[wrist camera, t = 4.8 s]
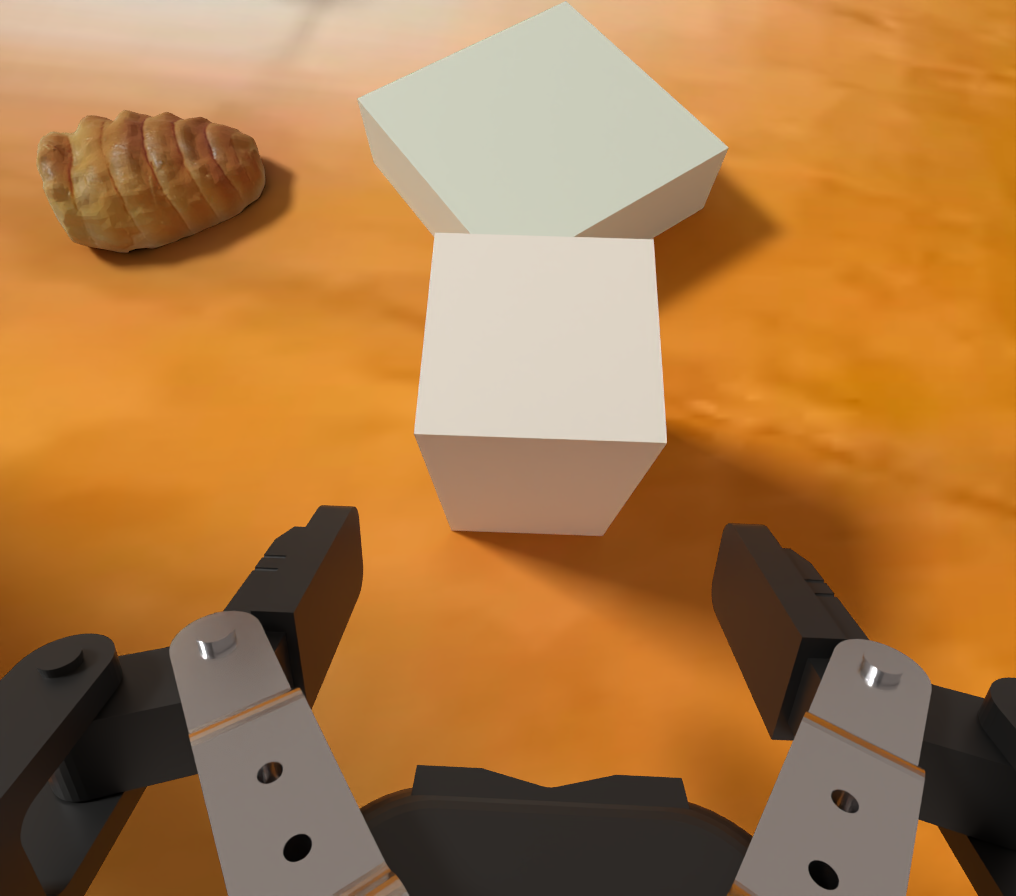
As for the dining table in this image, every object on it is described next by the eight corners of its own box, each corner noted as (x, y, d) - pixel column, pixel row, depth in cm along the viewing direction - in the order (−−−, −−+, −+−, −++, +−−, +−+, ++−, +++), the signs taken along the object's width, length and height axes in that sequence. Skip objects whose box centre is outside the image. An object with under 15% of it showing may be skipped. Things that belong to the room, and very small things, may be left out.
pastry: (260, 132, 31) (228, 62, 28) (280, 229, 29) (248, 168, 25) (79, 170, 30) (21, 104, 27) (85, 274, 28) (23, 217, 24)
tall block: (602, 536, 23) (667, 442, 14) (451, 530, 23) (414, 434, 14) (599, 399, 25) (653, 239, 16) (461, 394, 25) (434, 232, 16)
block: (505, 330, 27) (505, 275, 23) (375, 168, 31) (357, 98, 27) (700, 214, 29) (728, 147, 26) (559, 76, 33) (565, 1, 29)
